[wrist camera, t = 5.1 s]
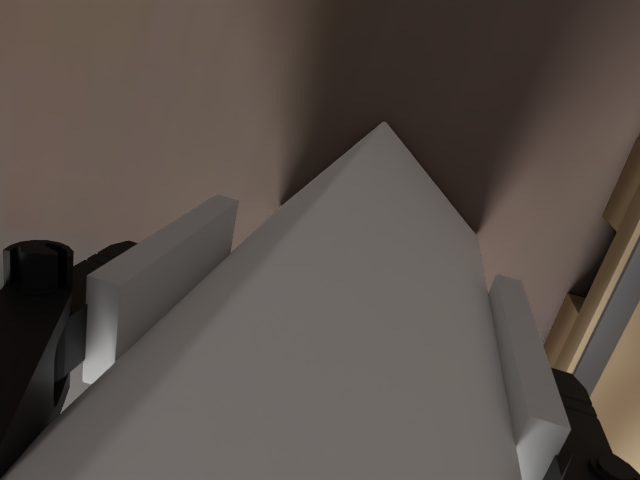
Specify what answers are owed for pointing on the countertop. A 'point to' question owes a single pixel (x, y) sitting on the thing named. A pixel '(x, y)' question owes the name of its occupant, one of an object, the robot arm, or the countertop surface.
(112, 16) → the countertop surface
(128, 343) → the robot arm
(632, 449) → the dock
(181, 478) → the milk
